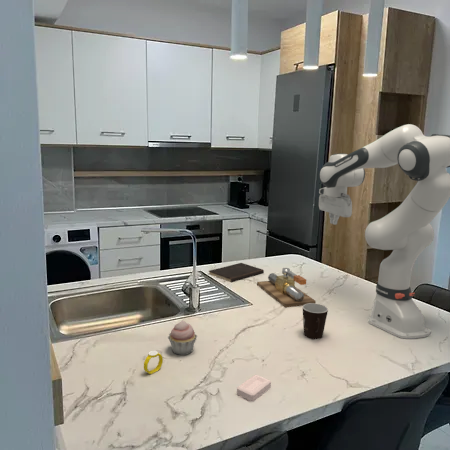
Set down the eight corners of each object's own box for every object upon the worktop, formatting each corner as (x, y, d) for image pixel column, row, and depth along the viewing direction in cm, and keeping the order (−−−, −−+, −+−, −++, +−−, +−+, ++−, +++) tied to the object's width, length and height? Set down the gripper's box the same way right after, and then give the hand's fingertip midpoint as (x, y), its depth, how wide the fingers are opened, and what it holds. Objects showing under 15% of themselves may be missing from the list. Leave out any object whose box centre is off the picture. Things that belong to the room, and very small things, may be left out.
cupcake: (195, 342, 142) (196, 314, 140) (198, 356, 133) (199, 326, 131) (166, 344, 141) (167, 315, 139) (168, 358, 132) (168, 327, 130)
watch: (148, 378, 121) (147, 359, 120) (142, 374, 123) (141, 355, 121) (165, 368, 126) (163, 350, 124) (158, 365, 127) (157, 347, 126)
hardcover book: (208, 275, 214) (208, 270, 213) (241, 266, 229) (241, 262, 229) (231, 283, 202) (231, 279, 202) (263, 274, 218) (264, 269, 218)
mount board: (315, 304, 179) (315, 300, 179) (285, 307, 174) (285, 304, 174) (284, 282, 205) (284, 279, 204) (257, 285, 200) (257, 281, 200)
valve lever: (280, 272, 188) (281, 268, 188) (287, 272, 190) (287, 267, 189) (299, 285, 173) (300, 280, 173) (306, 284, 174) (307, 279, 174)
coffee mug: (304, 327, 156) (306, 301, 154) (328, 333, 152) (330, 306, 150) (294, 340, 146) (296, 312, 144) (320, 346, 142) (322, 318, 140)
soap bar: (271, 388, 118) (271, 380, 118) (252, 403, 111) (252, 394, 111) (255, 381, 122) (255, 373, 121) (235, 395, 115) (236, 386, 114)
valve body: (305, 302, 178) (306, 283, 177) (293, 303, 176) (294, 284, 175) (277, 282, 202) (278, 265, 200) (266, 283, 200) (267, 266, 199)
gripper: (357, 195, 176) (354, 228, 179) (329, 189, 195) (326, 219, 197) (344, 195, 174) (341, 229, 176) (317, 189, 193) (314, 219, 195)
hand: (333, 223), depth 187 cm, fingers closed
